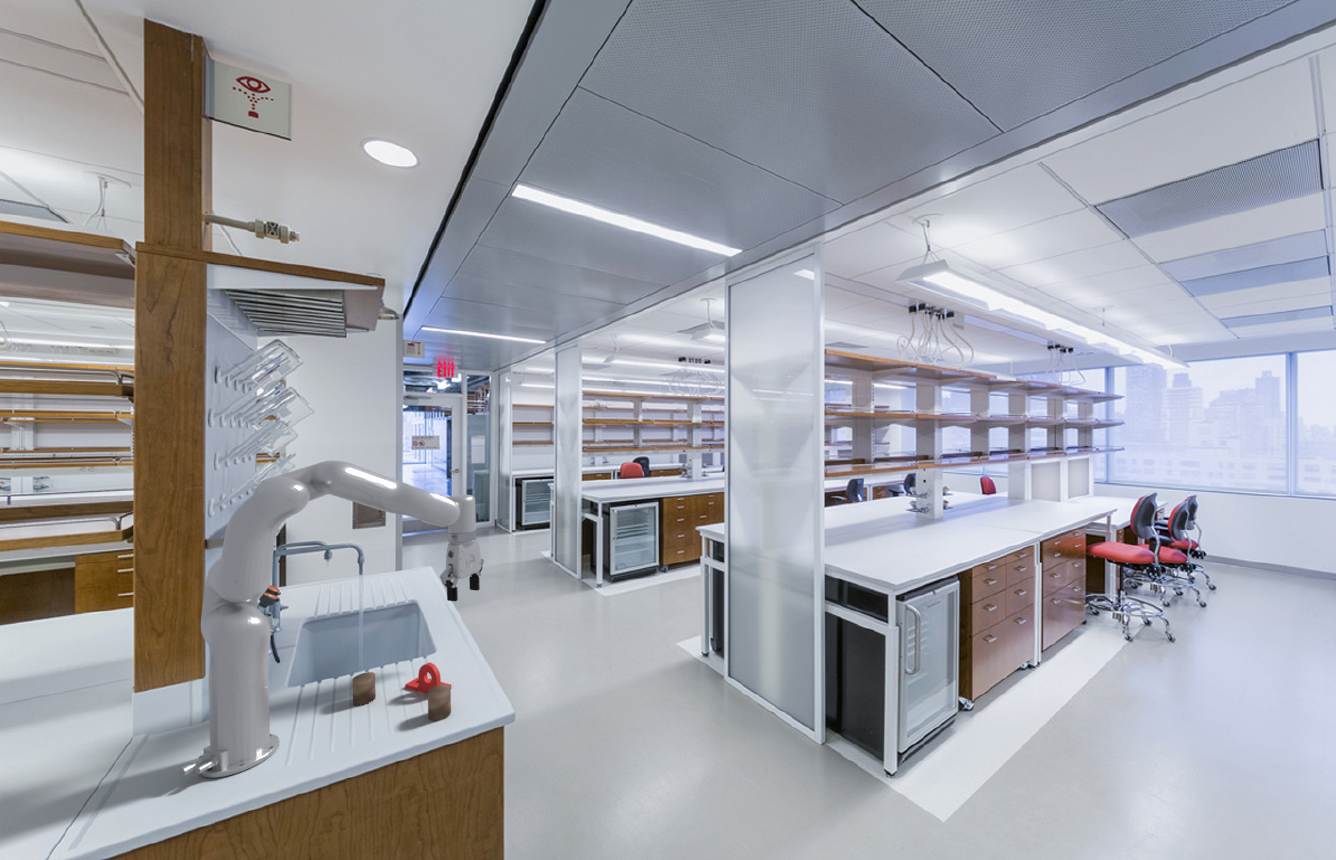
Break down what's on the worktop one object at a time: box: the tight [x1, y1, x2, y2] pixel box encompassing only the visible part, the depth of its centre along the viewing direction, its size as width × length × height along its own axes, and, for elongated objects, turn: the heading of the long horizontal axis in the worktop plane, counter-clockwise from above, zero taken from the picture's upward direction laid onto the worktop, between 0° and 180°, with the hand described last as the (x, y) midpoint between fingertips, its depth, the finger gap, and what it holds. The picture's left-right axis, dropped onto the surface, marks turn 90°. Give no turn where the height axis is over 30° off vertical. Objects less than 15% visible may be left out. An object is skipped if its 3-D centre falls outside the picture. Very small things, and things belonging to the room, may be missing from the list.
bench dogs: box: [351, 671, 452, 722], centre depth 119 cm, size 5×29×6 cm, turn 73°
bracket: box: [404, 662, 452, 695], centre depth 128 cm, size 12×4×8 cm, turn 66°
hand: (463, 595), depth 141 cm, fingers open, 8 cm apart
